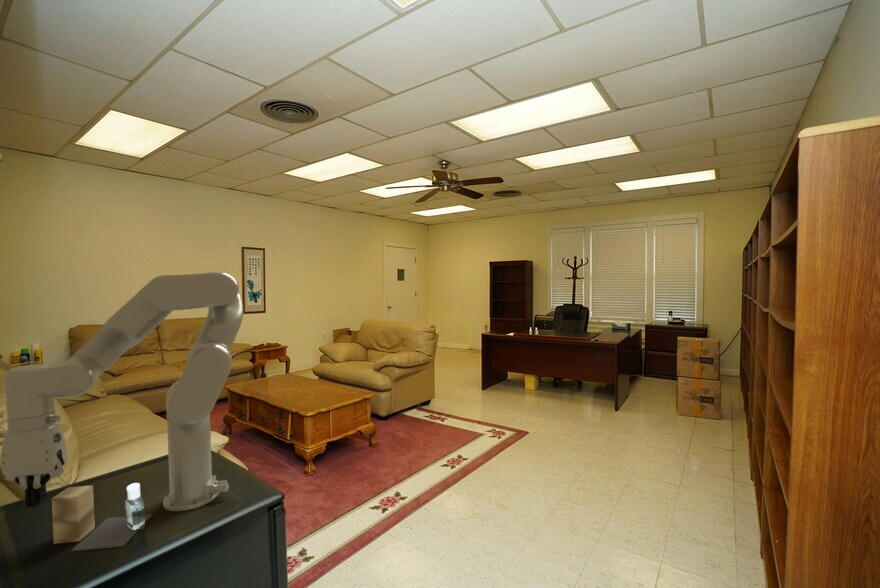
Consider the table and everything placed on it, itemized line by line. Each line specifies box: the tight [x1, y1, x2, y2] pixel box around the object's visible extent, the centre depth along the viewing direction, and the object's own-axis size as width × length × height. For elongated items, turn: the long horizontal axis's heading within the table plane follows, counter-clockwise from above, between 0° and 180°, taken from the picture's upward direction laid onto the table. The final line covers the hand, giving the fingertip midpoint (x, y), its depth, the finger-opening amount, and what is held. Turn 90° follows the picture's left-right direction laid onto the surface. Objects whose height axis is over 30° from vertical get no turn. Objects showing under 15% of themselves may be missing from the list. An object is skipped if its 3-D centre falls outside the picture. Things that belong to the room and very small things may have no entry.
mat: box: [71, 513, 153, 552], centre depth 95 cm, size 10×12×1 cm
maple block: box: [51, 485, 96, 545], centre depth 93 cm, size 5×5×10 cm
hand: (36, 503), depth 92 cm, fingers closed
